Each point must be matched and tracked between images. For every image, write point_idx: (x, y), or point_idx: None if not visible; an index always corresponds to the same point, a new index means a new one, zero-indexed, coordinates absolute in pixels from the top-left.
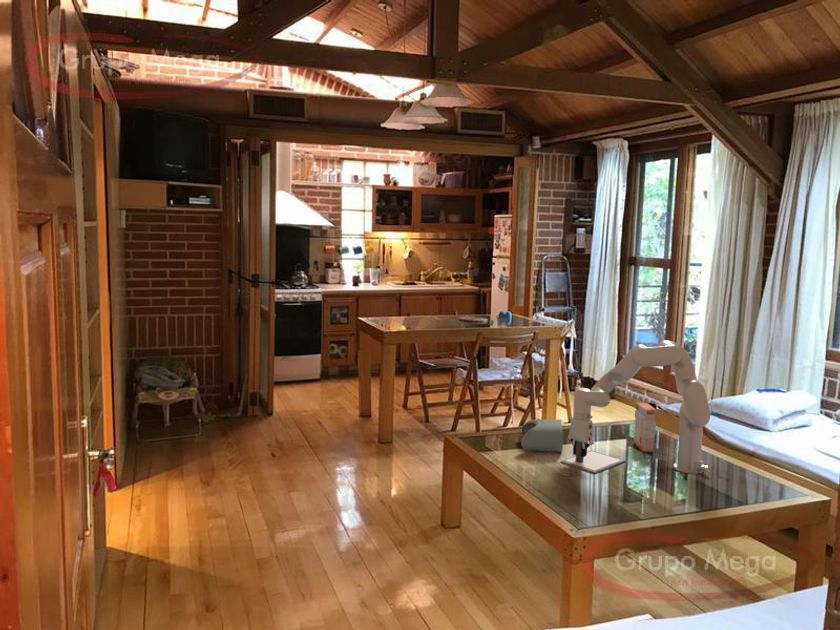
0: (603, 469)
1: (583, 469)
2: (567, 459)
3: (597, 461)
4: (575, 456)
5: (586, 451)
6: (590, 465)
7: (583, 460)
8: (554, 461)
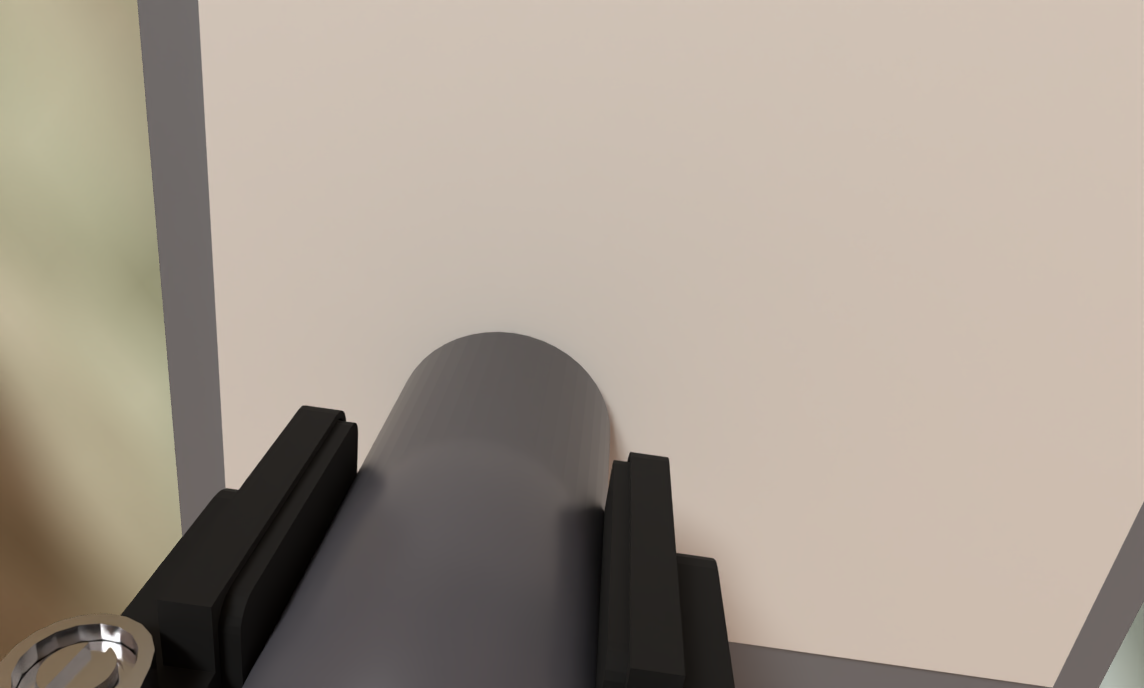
0: None
1: (784, 684)
2: (207, 446)
3: (909, 60)
4: (169, 82)
5: (722, 660)
6: (855, 486)
7: (606, 422)
8: (75, 594)
